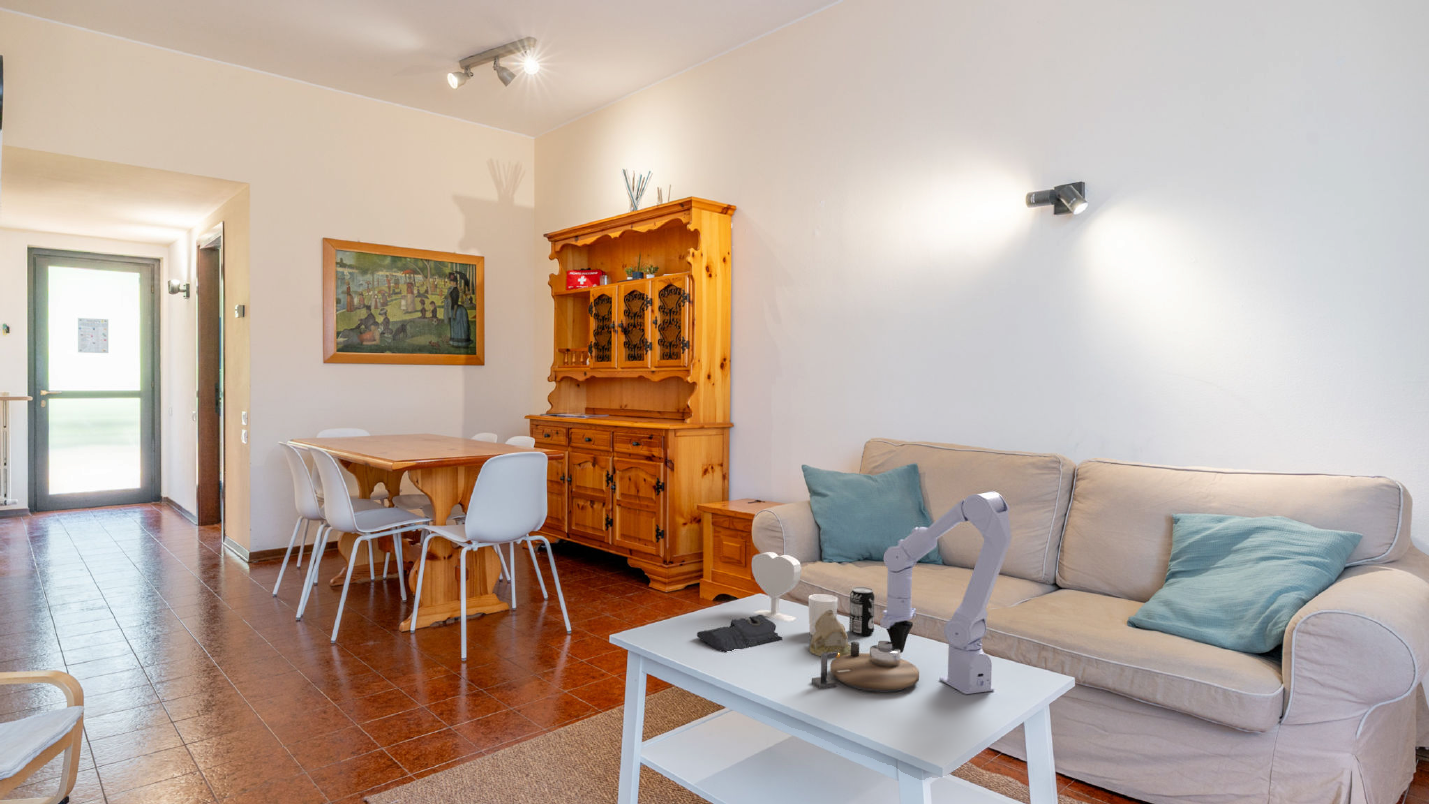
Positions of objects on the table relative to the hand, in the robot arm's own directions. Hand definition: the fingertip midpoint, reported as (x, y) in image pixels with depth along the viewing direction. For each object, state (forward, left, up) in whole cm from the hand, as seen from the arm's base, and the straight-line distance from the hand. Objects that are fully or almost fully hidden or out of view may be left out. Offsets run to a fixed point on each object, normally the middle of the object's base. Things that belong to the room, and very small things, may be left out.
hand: (897, 651), depth 188 cm
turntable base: (-6, +10, -3) cm, 12 cm away
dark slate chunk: (+30, +29, -4) cm, 42 cm away
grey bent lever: (-6, +23, -3) cm, 24 cm away
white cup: (+27, +6, -4) cm, 28 cm away
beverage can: (+25, -5, -4) cm, 26 cm away
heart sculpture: (+47, +11, -4) cm, 49 cm away
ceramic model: (+16, +10, -4) cm, 19 cm away
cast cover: (-3, +6, -1) cm, 7 cm away
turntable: (-6, +10, -2) cm, 12 cm away
